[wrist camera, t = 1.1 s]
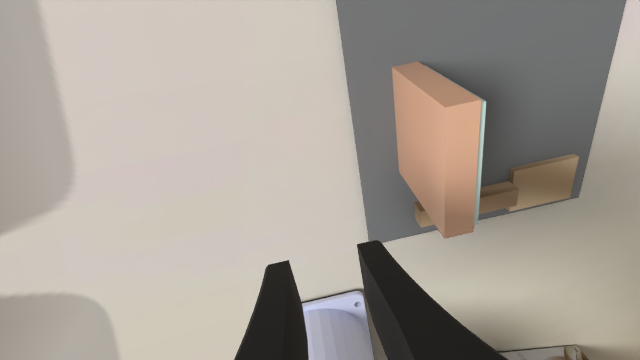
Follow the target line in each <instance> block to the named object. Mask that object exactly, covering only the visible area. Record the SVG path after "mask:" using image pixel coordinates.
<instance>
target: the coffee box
mask: <svg viewBox="0 0 640 360" xmlns="http://www.w3.org/2000/svg"><path fill="white" fill-rule="evenodd" d="M500 354H501V355H503V356H504V357H505V358H507V359H508V360H589V359H588V358H587V357H586V356H585V355H584V353H583V352H582V351H581V350H580V349H579V347H578V346H577V345H570V346H561V347H551V348H542V349H532V350H522V351H512V352H503V353H500Z"/></svg>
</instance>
